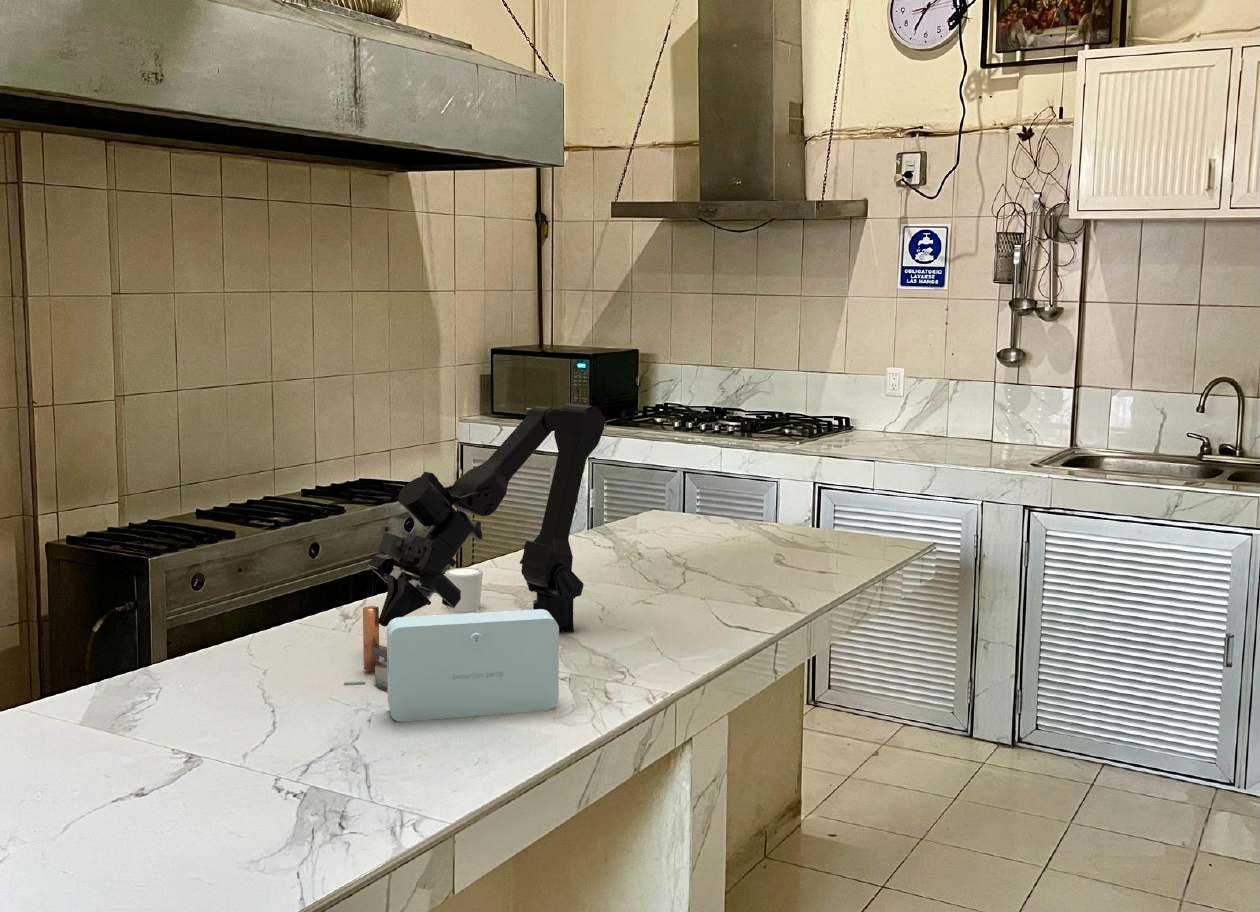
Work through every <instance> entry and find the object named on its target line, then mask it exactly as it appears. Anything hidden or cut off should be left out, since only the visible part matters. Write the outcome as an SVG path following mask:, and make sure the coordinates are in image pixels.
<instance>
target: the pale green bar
mask: <svg viewBox="0 0 1260 912" xmlns="http://www.w3.org/2000/svg"><path fill="white" fill-rule="evenodd" d="M365 684H366V680H344V683H343V685H344V686H350V685H365Z"/></svg>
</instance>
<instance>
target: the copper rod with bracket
mask: <svg viewBox="0 0 1260 912" xmlns="http://www.w3.org/2000/svg"><path fill="white" fill-rule="evenodd" d="M379 613H380V608H379V606H377V605H376V606H375V605H368V606H363V607H362V643H363V648H362V649H363V653H362V654H363V670H364V671H367V672H368V671H369V672H372V671H374V672H375V666H376V664H377V663H379V662H380V661H381V659H380V658H383V660H384V661H385V662H387V646H385V645H380V624H379V618H380V614H379Z"/></svg>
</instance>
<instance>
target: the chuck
mask: <svg viewBox="0 0 1260 912" xmlns="http://www.w3.org/2000/svg"><path fill="white" fill-rule="evenodd" d="M374 680H375V681H374V684H375V687H377V688H378V689H379V690H382V691H385V692H388V681H387V662H385V661H384V659H383V660H380V662H379V663H377V664H376V666H375V671H374Z"/></svg>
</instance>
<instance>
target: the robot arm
mask: <svg viewBox="0 0 1260 912" xmlns="http://www.w3.org/2000/svg"><path fill="white" fill-rule="evenodd" d="M605 425H606V418H605V416H604V415H603V412H602V411H601V409H600V408H599V407H597V406H592V405H586V404H585V405H584V404H576V403H566V404H564V405H563V406H562V407H559V408H554V407H553V408H551V407H548V406H547V407H546V406H534V407H531V408H530V409H529V410H528V411H527V413H526V416H525V418H523V420H522V421H521V422H520V423H519V425H518V426H516V428H514V430H513V431H512V432H511V433H510V434H509V435H508V436H507V438H506V439H504V441H503V442H502V443H501V444H500V445H499V446H498V448H497V449H496V450H495V451H494V452H493V453H492V454H491V456H490V457H489V458H488V459H486V460H485V461H484V462H483V463H481V464H479V465H477V466H475V467H473V468H471V469H469V470H468V471H467V472H465V473H464V474H463V475H461V476H460V477H458V479H456V480H455V481H454V483H453V484H452V485H448V486H446V487H445V486H444V485H443V484H442V483H441V482H440V481H439V479H438V477H437V476H436V475H435V474H434V473H433V472H429V471H423V473H422V474H421V476H418V477H416V478H414V479H412V480H410V481H409V482H408V483H407V484H405V485H403V487H401V490H400V492H399V493H398V496H397V501H398V503H399V504H400V505H401V507H403V508H404V509H405V510H406V511H407V512H408V514H409V515H410V516H412V517H413V519H414V520H415V521H417V522H418V523H419V524H420V525H421V526H422V527H429V529H428V530H427V532H426V533H425V535H424V536H419V535H415V534H411V533H409V534H408V535H407V536H406V537H403V536H398V535H395V534H392V533H389V532H383V534H382V536H381V540H380V542H379V545H378V547H377V551H376V552H378V553H381V554H375V555H374V556H373V557H371V558H372V559H371V560H370V561H369V562H368V564H367V566H368V567H369V568H370V569H371V570H372V572H374V573H375V574H376V575H378V577H380V578H381V579H382V581H384V582H385V583H386V584H387V587H388V588H387V592H386V597H385V600H384V603H383V607H382V608H381V612H380V614H379V626H382V627H384V628H387V626H388V624H389V622H390V621H391V620H392V619H394V618H398V617H406V616H408V615H409V614H411V613H413V612H415V611H418V610H419V609H421V608H424V607H425V606H430V605H431V604H432V601H431V597H432V596H433V595H434V594H437V595H438V596H439V597H441V603H442V605H443V606H445V607H448V608H449V607H450V608H453V609H454V608H455V607H456V605H457V604H458V602H459V601H460V600H461V590H460V589H458V588H457V587H456V586H455V585H454V584H453V583H452V582H451V581H450V580H449V579H448V578H447V577H446V576H445V573H444V571H445V570H446V568H447V567H451V568H454V566H455V565H456V564H457V561H456V560H455V559H454V557H455V556H456V555H457V553H458V552H459V551H460V549H461V548H462V546H463V545H464V544H465V542H466V541H467V540H468V538H469V537H471V538H474V539H478V540H481V539H483V537H484V536H483V532H482V522H480V521H478V520H474V519H471V518H470V517H469V516H468V515H467V514H466V513H468V514H470V515H471V514H472V515H476V516H481V517H486V516H487V517H489V516H491V515H493V513H495V512H496V511H497V509H498V508H499V506H500V505H501V503H502V502H503V500H504V498H505V496H506V495H507V491H508V485H509V482H510V480H511V479H512V478H513V476H515V474H516V473H517V472H518V471H519V470H520V469H521V467H522V466H523V465H524V464H525V463H526V462H527V460H528V459H530V457H531V456H532V455H533V454H534V453H535V451H536V450H537V449H538V448H539V447H540V446H541V445H542V444H543V443H544V441H545V440H546V439H547V437H549V435H550V434H551V433H553V432H554V433H553V437H554V440H555V444H556V447H557V451H558V453H557V459H556V463H555V467H554V471H553V475H552V479H551V480H552V481H551V484H550V488H549V493H548V498H547V502H546V506H545V511H544V515H543V519H542V524H541V529H540V532H539V534H538V535H537V536H536V537H535V538H534V540H533V541H531V540H526V541H525V543H524V547H523V553H522V558H521V559H520V561H519V564H521V575H522V576H523V578H524V580H525V581H526V585H527V587H528V591H529V592H531V593H532V592H533V593H536V599H534V600H533V601H532V602H533V603H532V606H533V608H532V610H536V609H543V610H546V611H548V612H549V613H550V615H551V616H552V617H553V619H554V620H555V621H556V623H557V624H558V626H559V633H575V625H574V600H575V599H576V598H577V597H581V596H582V592H583V589H584V586H585V585H584V582H583V581H582V580H581V579H580V578H579V577H578V576H577V575H576V574H575V573H574V572H573V570H572V569H573V568H572V567H573V559H574V557H573V553H572V548H571V546H570V542H569V537H570V533H571V529H572V524H573V520H574V515H575V510H576V507H577V502H578V497H579V492H580V489H581V484H582V481H583V476H584V470H585V466H586V463H587V462H586V461H587V459H588V457H589V456H590V455H591V454H592V452H593V451H594V450H595V449H597V447H598V446H599V443H600V440H601V437H602V435H603V432H604V430H605ZM384 553H385V554H386V555H385V554H384ZM394 558H396V559H394Z"/></svg>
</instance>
